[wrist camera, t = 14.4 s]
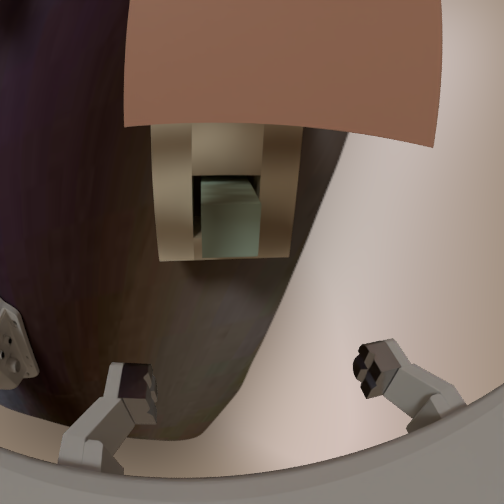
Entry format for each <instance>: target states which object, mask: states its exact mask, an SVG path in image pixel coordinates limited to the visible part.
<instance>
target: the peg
mask: <svg viewBox="0 0 504 504" xmlns="http://www.w3.org/2000/svg"><path fill="white" fill-rule="evenodd" d="M260 219H261V202H260V200H259V198H258V197H257V195H256V193H255V191H254V189H253V187H252V186H251V184H250V182H249V180H248V178H247V176H246V175H201V232H202V258H221V257H252V256H258V248H259V233H260Z"/></svg>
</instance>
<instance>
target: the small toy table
mask: <svg viewBox="0 0 504 504" xmlns="http://www.w3.org/2000/svg"><path fill="white" fill-rule="evenodd" d="M441 72H442V9H441V0H130V6H129V15H128V25H127V37H126V51H125V72H124V127H130V126H141V125H156V124H175V123H255V124H274V125H289V126H301V127H311V128H321V129H330V130H338V131H345V132H352V133H359V134H365V135H372V136H378V137H383V138H389V139H394V140H399V141H404V142H409V143H414V144H418V145H423V146H427V147H431V148H433V146H434V139H435V132H436V125H437V117H438V108H439V99H440V87H441Z"/></svg>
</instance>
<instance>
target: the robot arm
mask: <svg viewBox="0 0 504 504" xmlns="http://www.w3.org/2000/svg"><path fill="white" fill-rule="evenodd" d="M358 352H359V355H358V356H357V357H356V358H355V360H354V362H353V371H354V375H355V377H356V379H357V380H359V381H360V382H362V383H361V389H362V391H363V393H364V395H365V397H366V399H369V398H372V397H377V396H380V395H383V396H384V397H386V398H387V399H388V400H389V401H390V402H392V403H393V404H394V405H396V406H397V407H398V408H399V409H401V410H402V411H403V412H405V413H406V414H407V415H409V416H410V417H411V418H413V419H412V421H411V422H410V423H409V424H408V425H407V428H406V429H407V431H408V434H406V435H404V436H401V437H399V438H396V439H393V440H391V441H388V442H385V443H382V444H379V445H377V446H373V447H370V448H367V449H364V450H361V451H358V452H355V453H351V454H348V455H344V456H341V457H337V458H333V459H329V460H325V461H321V462H317V463H313V464H308V465H303V466H298V467H293V468H288V469H282V470H276V471H269V472H262V473H254V474H246V475H236V476H223V477H206V478H160V477H141V476H129V475H124V468H123V467H122V466H121V465H120V464H119V463H118V462H117V460H116V459H115V458H114V457H113V455H114V454H115V452H116V451H117V450H118V448H119V447H120V445H121V444H122V443H123V441H124V440H125V439H126V437H127V436H128V434H129V433H130V432H131V430H132V429H133V427H134V426H135V424H156V420H157V409H156V406H155V402H156V401H157V396H158V392H157V383H156V378H155V377H154V376H153V368H152V365H151V364H138V363H116V362H112V363H111V365H110V367H109V372H108V377H107V382H106V387H105V392H104V397H100V398H99V399H98V400H97V401H96V402H95V403H94V404H93V405H92V406H91V407H90V408H89V409H88V410H87V411H86V412H85V413H84V414H83V415H82V416H81V417H80V418H79V419H78V420H77V421H76V422H75V423H74V424H73V425H72V426H71V427H70V428H69V429H68V430H67V431H66V432H65V433H64V434H63V437H62V442H61V447H60V453H59V458H58V464H55V463H51V462H47V461H44V460H40V459H36V458H33V457H29V456H26V455H22V454H19V453H16V452H13V451H10V450H8V449H5V448H2V447H0V504H504V383H503V384H502V385H501V386H499V387H497V388H496V389H494V390H493V391H491V392H489V393H488V394H486V395H485V396H483V397H482V398H479V399H478V400H476V401H474V402H472V403H471V404H469V405H466V403H465V402H464V400H463V399H462V397H461V396H460V394H459V393H458V391H457V390H456V388H455V387H454V386H453V385H452V384H450V383H448V382H446V381H444V380H443V379H441V378H439V377H437V376H435V375H434V374H432V373H430V372H428V371H426V370H424V369H423V368H421V367H419V366H417V365H415V364H411V363H410V361H409V360H408V358H407V357H406V355H405V354H404V352H403V351H402V349H401V348H400V346H399V345H398V343H397V342H396V341H395V340H394V339H387V340H383V341H377V342H372V343H367V344H362V345H361V346H360V347H359V350H358ZM38 374H39V368H38V365H37V362H36V360H35V357H34V354H33V352H32V349H31V346H30V343H29V340H28V337H27V334H26V331H25V327H24V324H23V321H22V317H21V315H20V313H19V312H18V311H17V310H16V309H15V308H14V307H12V306H11V305H9V304H7V303H6V302H4V301H3V300H2V299H1V298H0V389H6V390H9V389H14V388H16V387H17V386H18V385H19V384H20V382H21V381H22V379H23V378H32V377H35V376H37V375H38Z"/></svg>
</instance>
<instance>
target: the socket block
mask: <svg viewBox="0 0 504 504" xmlns="http://www.w3.org/2000/svg"><path fill="white" fill-rule="evenodd" d="M302 134H303V127H301V126H289V125H274V124H255V123H175V124H156V125H151V153H152V177H153V194H154V208H155V221H156V232H157V242H158V252H159V260H160V261H186V260H218V259H249V258H279V257H289V253H290V245H291V237H292V229H293V221H294V212H295V203H296V194H297V185H298V175H299V166H300V155H301V145H302ZM201 175H246V176H247V178H248V180H249V182H250V184H251V186H252V187H253V189H254V191H255V193H256V195H257V197H258V198H259V200H260V202H261V219H260V233H259V248H258V256H252V257H221V258H202V232H201Z"/></svg>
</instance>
